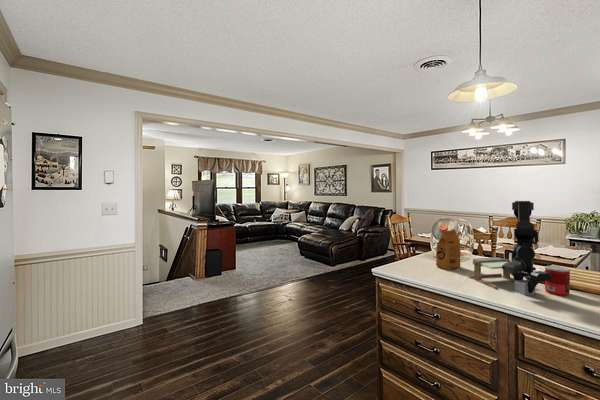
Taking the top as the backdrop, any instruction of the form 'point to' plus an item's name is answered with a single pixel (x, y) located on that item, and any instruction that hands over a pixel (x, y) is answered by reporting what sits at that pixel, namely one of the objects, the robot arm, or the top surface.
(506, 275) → the frame
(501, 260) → the trapdoor
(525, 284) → the stone
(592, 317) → the top surface
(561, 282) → the canned food
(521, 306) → the top surface
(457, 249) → the coffee package
